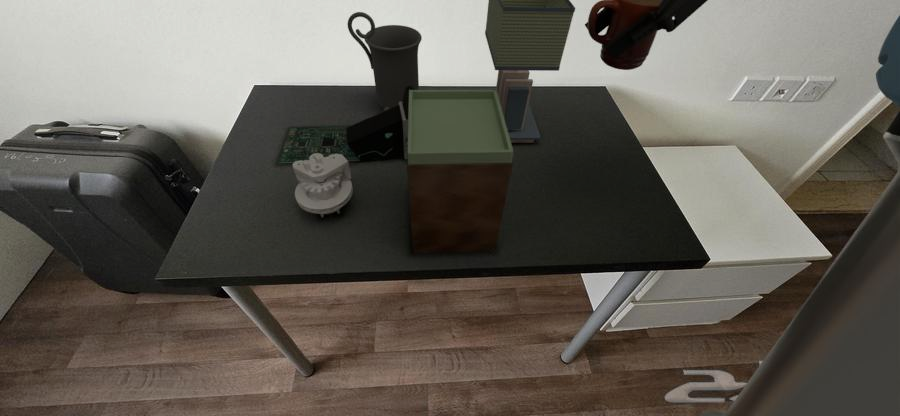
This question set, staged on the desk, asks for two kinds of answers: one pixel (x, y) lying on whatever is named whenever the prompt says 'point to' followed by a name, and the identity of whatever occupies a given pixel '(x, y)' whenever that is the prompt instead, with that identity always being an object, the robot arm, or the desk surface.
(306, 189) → the mechanical part
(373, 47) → the mug
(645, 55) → the mug
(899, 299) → the robot arm
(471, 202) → the plinth
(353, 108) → the desk surface
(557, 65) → the desk lamp
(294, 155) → the circuit board
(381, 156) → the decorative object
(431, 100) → the tray
